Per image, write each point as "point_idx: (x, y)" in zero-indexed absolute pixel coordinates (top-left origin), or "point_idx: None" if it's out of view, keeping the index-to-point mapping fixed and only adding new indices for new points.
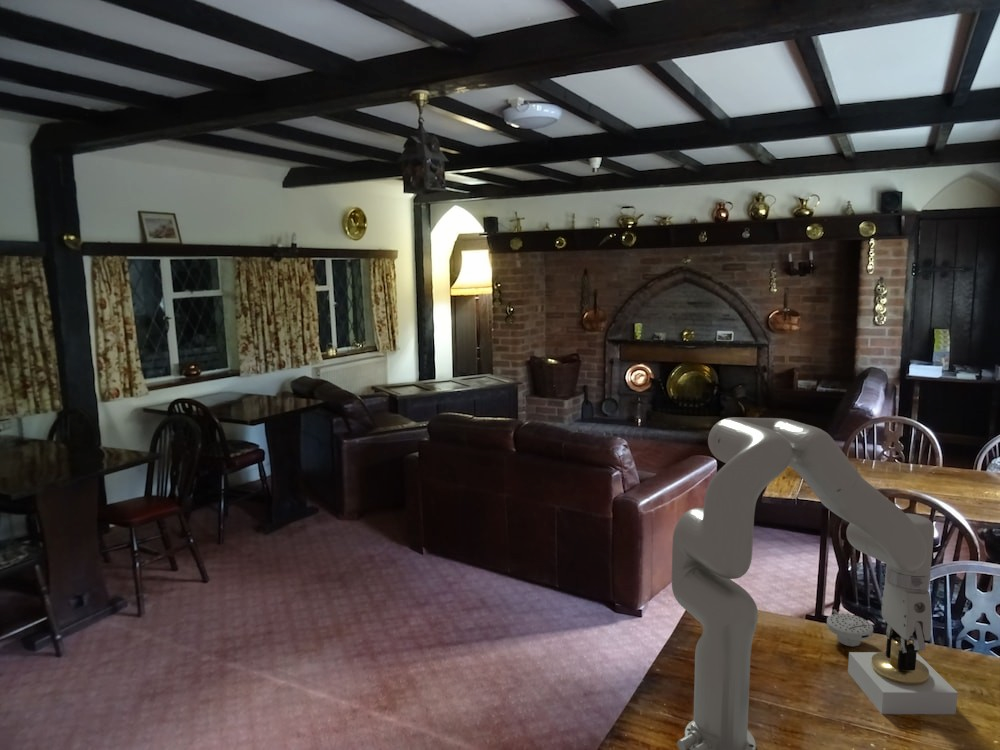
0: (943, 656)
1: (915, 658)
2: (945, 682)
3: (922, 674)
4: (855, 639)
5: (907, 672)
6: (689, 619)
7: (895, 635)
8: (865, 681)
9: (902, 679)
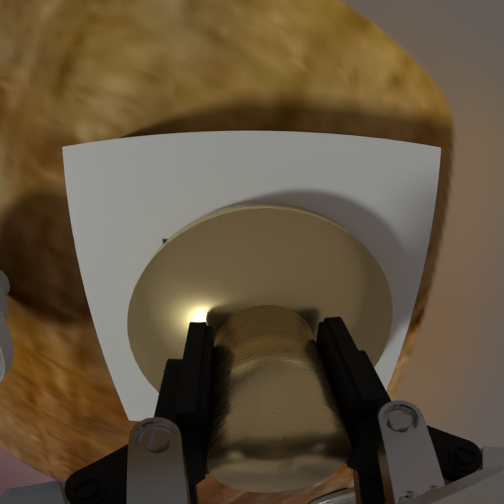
0: (13, 4)
1: (361, 363)
2: (369, 148)
3: (360, 278)
4: (10, 334)
5: None
6: (37, 470)
7: (190, 474)
8: None
9: None
